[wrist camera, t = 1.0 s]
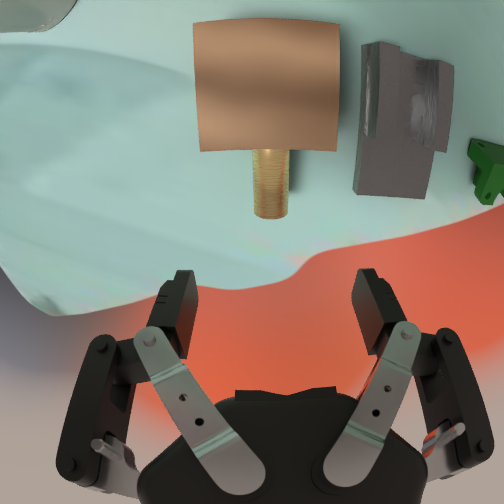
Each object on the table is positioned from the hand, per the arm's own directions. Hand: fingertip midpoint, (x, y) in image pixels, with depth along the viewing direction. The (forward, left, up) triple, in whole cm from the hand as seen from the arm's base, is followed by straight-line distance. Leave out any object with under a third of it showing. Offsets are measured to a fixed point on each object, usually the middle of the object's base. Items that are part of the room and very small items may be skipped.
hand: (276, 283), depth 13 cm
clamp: (-3, +30, -18) cm, 35 cm away
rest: (-6, +14, -17) cm, 23 cm away
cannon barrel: (-5, 0, -15) cm, 16 cm away
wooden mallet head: (-9, 0, -17) cm, 19 cm away
